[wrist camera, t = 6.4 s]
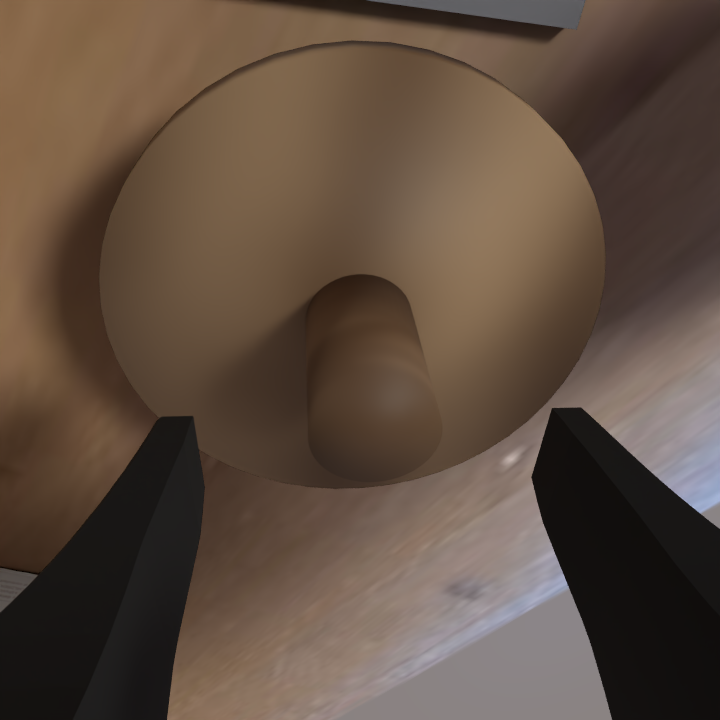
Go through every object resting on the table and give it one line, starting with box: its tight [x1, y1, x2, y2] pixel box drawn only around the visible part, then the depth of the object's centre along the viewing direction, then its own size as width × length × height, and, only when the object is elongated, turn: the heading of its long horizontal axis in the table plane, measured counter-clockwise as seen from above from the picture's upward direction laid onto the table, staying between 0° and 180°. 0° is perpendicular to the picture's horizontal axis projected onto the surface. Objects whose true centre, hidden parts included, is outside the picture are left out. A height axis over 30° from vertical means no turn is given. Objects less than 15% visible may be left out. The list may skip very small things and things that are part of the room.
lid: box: [99, 41, 606, 489], centre depth 14 cm, size 12×12×5 cm
